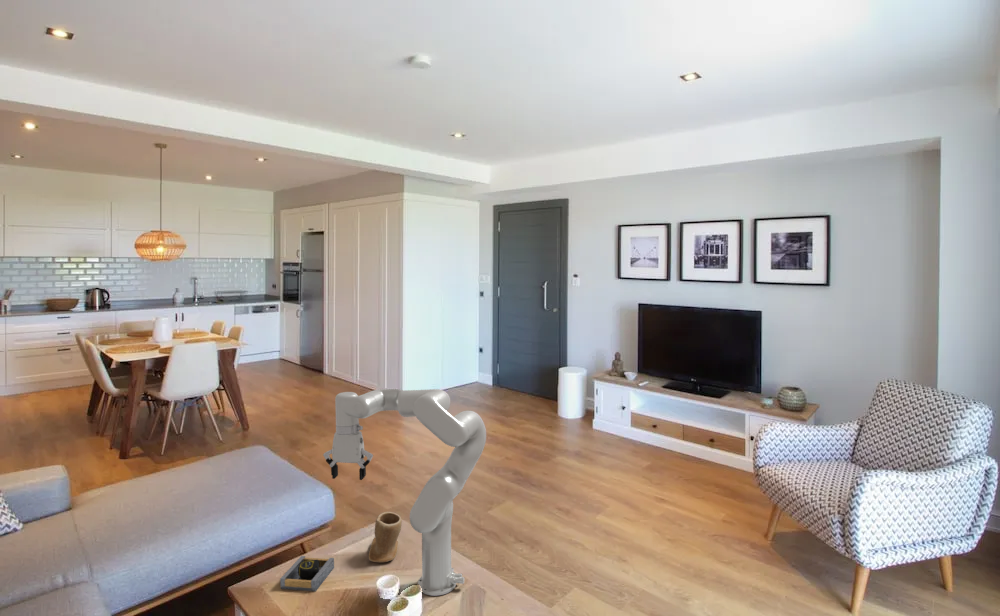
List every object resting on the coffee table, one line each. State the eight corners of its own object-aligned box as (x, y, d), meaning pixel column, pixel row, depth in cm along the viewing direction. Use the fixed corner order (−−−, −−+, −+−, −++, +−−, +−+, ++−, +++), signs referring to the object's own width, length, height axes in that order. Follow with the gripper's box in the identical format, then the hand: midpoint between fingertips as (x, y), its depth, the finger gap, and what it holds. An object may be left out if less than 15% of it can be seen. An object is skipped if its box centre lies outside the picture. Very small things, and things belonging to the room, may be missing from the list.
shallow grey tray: (334, 567, 188) (334, 558, 187) (315, 591, 174) (315, 581, 173) (301, 565, 189) (301, 555, 189) (280, 588, 175) (280, 578, 175)
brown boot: (400, 564, 189) (399, 523, 188) (365, 565, 189) (364, 524, 188) (405, 543, 205) (404, 504, 204) (373, 544, 204) (372, 505, 203)
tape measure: (319, 579, 179) (319, 568, 179) (297, 582, 177) (297, 571, 177) (320, 568, 186) (319, 557, 185) (298, 571, 184) (298, 560, 183)
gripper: (375, 426, 186) (376, 474, 187) (328, 425, 188) (329, 472, 189) (368, 433, 179) (369, 483, 180) (318, 431, 181) (319, 481, 182)
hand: (348, 477), depth 185 cm, fingers open, 9 cm apart
